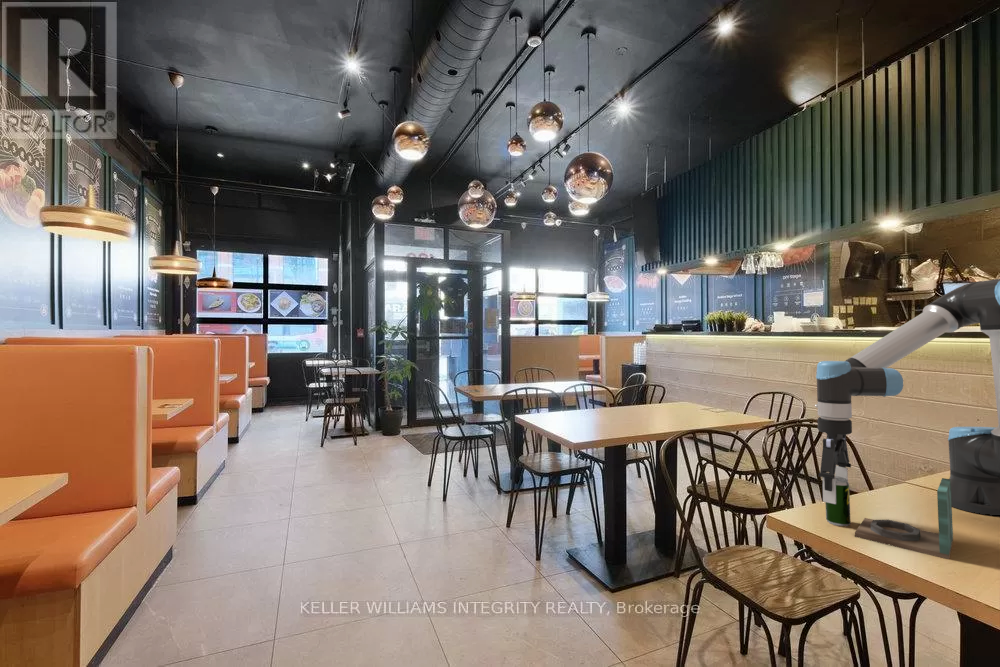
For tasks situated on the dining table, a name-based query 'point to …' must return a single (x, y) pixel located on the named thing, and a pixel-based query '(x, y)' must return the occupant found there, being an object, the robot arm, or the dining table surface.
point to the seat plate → (915, 529)
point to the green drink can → (840, 504)
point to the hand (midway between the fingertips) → (835, 496)
